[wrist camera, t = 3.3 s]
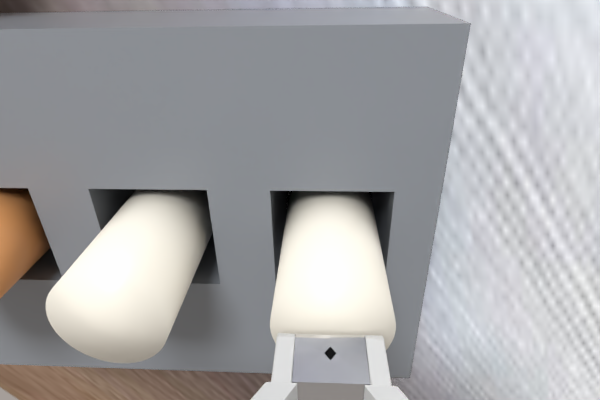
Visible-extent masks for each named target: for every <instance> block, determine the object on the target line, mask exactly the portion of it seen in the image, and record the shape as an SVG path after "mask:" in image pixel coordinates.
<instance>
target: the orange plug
mask: <svg viewBox="0 0 600 400" xmlns="http://www.w3.org/2000/svg"><path fill="white" fill-rule="evenodd" d="M50 248H51V247H50V244H49V242H48V239H47V236H46V234H45V231H44V229H43V226H42V224H41V221H40V218H39V216H38V213H37V211H36V208H35V205H34V203H33V200H32V198H31V195H30V192H29V190H28V188H0V299H1V297H2V296H3V295H4V294H5V293H6V292H7V291H8V290H9V289H10V288H11V287H12V286H13V285H14V284H15V283H16V282H17V281H18V280H19V279H20V278H21V277H22V276H23V275H24V274H25V273H26V272H27V271H28V270H29V269H30V268H31V267H32V266H33V265H34V264H35V263H36V262H37V261H38V260H39V259H40V258H41V257H42V256H43V255H44V254H45V253H46V252H47V251H48V250H49V249H50Z"/></svg>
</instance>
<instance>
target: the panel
mask: <svg viewBox="0 0 600 400" xmlns="http://www.w3.org/2000/svg"><path fill="white" fill-rule="evenodd" d="M470 25H471V23H468V22H466V21H463V20H461V19H458V18H455V17H453V16H450V15H447V14H445V13H442V12H440V11H437V10H434V9H432V8H429V7H375V8H306V9H238V10H169V11H100V12H32V13H0V188H28V190H29V192H30V195H31V198H32V200H33V203H34V205H35V208H36V211H37V213H38V216H39V218H40V221H41V224H42V226H43V229H44V231H45V234H46V236H47V239H48V242H49V244H50V247H51V248H50V249H49V250H48V251H47V252H46V253H45V254H44V255H43V256H42V257H41V258H40V259H39V260H38V261H37V262H36V263H35V264H34V265H33V266H32V267H31V268H30V269H29V270H28V271H27V272H26V273H25V274H24V275H23V276H22V277H21V278H20V279H19V280H18V281H17V282H16V283H15V284H14V285H13V286H12V287H11V288H10V289H9V290H8V291H7V292H6V293H5V294H4V295H3V296H2V297H1V299H0V364H12V365H41V366H71V367H100V368H129V369H158V370H187V371H216V372H245V373H272V370H273V362H274V354H275V346H276V343H275V341H274V339H273V337H272V334H271V330H270V318H271V311H272V305H273V298H274V292H275V286H276V279H277V273H278V266H279V260H280V254H281V247H282V241H283V234H284V228H285V222H286V215H287V199H286V191H360V192H372V205H373V210H374V215H375V220H376V225H377V230H378V235H379V240H380V245H381V250H382V255H383V260H384V265H385V270H386V275H387V280H388V285H389V290H390V295H391V300H392V305H393V310H394V315H395V321H396V331H395V336H394V338H393V341H392V343H391V344H390V346H389V347H388V348H387V350H386V354H387V360H388V366H389V372H390V377H391V378H410V373H411V367H412V362H413V356H414V350H415V344H416V338H417V333H418V327H419V321H420V315H421V309H422V304H423V298H424V292H425V286H426V280H427V275H428V269H429V263H430V257H431V251H432V245H433V240H434V234H435V228H436V222H437V216H438V211H439V205H440V199H441V193H442V187H443V182H444V176H445V170H446V164H447V158H448V153H449V147H450V141H451V135H452V129H453V124H454V118H455V112H456V106H457V100H458V94H459V89H460V83H461V77H462V71H463V65H464V60H465V54H466V48H467V42H468V36H469V31H470ZM136 189H155V190H207V196H208V203H209V209H210V216H211V223H212V230H213V232H212V235H211V237H210V240H209V242H208V244H207V247H206V249H205V251H204V254H203V256H202V258H201V261H200V263H199V265H198V268H197V270H196V272H195V275H194V277H193V279H192V282H191V284H190V286H189V289H188V291H187V294H186V296H185V298H184V301H183V303H182V305H181V308H180V310H179V312H178V315H177V317H176V319H175V322H174V324H173V326H172V329H171V331H170V333H169V336H168V338H167V341H166V343H165V345H164V346H163V348H162V349H161V350H160V351H159V352H158V353H157V354H156V355H154V356H153V357H151V358H149V359H146V360H143V361H140V362H135V363H113V362H107V361H103V360H99V359H96V358H93V357H90V356H88V355H85V354H83V353H82V352H80V351H78V350H76V349H75V348H73V347H71V346H70V345H69V344H67V343H66V342H65V341H64V340H63V339H62V338H61V337H60V336H59V335H58V334H57V333H56V332H55V330H54V329H53V327H52V326H51V324H50V322H49V320H48V317H47V314H46V299H47V296H48V294H49V292H50V291H51V289H52V288H53V287H54V286H55V284H56V283H57V282H58V281H59V280H60V279H61V277H62V276H63V275H64V274H65V273H66V272H67V270H68V269H69V268H70V267H71V266H72V264H73V263H74V262H75V261H76V260H77V259H78V257H79V256H80V255H81V254H82V253H83V252H84V250H85V249H86V248H87V247H88V246H89V245H90V243H91V242H92V241H93V240H94V239H95V237H96V236H97V235H98V234H99V233H100V232H101V230H102V229H103V228H104V227H105V226H106V225H107V223H108V222H109V221H110V220H111V219H112V218H113V216H114V215H115V214H116V213H117V212H118V210H119V209H120V208H121V207H122V206H123V205H124V203H125V202H126V201H127V200H128V199H129V198H130V196H131V195H132V194H133V193H134V192H135V191H136Z"/></svg>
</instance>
